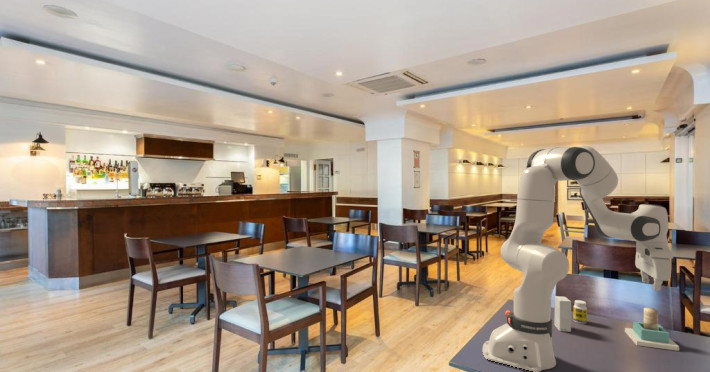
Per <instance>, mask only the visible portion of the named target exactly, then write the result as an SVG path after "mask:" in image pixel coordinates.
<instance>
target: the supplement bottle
mask: <svg viewBox="0 0 710 372" xmlns="http://www.w3.org/2000/svg"><path fill="white" fill-rule="evenodd" d="M572 309H573V314H572V315H573V317H572V318H573V319H572V320H573V322H575V323H577V324H583V325H584V324H587V322H588V308H587V302H586V301H584V300H579V299H576V300H574V305H573V308H572Z"/></svg>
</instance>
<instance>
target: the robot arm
mask: <svg viewBox="0 0 710 372" xmlns="http://www.w3.org/2000/svg"><path fill="white" fill-rule="evenodd" d="M618 177H619V176H618V175H617V173H616V171H615V170H614V169H613V167H612V166H611V164H610V163H609V162H608V160H607V159H606V158H605V157H604V156H603V155H602V154H601V153H599V151H597V150H596V149H595V148H593V146H589V145H581V146H572V147H563V146H562V147H559V146H558V147H557V146H555V147H550V148H541V149H539V150H538V149H537V150H536V151H534V152H532V153H531V155H530V156H529V157H528V160H527V162H526V168H525V169H523V171H522V172H521V175H520V179H519V183H518V188H517V196H516V198H517V200H516V210H515V220H514V225H513V229H512V231H511V233H510V235H509V237H508V238H507V239H506V240H505V241H504V242H503V244H502V245H501V247H500V257H501V259H502V260H503V262H504V263H506V265H508V266H509V267H510V268H512V269H513V270H517V271H519V272H521V273H522V280H521V283H520V285H519V286H517V287H516V288H515V289H514V291H513V311H512V312H511V311H510V310H506V311H505V312H504V313H505V315H504V316H505V317H506V323H504V324H503V325H500V326H499V327H497V328H494V329H493V331H492V332H491V333H490V336H489V340H486V341H484V343H483V344H482V350H481V351H482V352H483V353H482V352H481V353H482V355H484V356H483V357H484V358H485V359H486V360H487V359H488V360H491V361H495V362H499V363H503V364H507V365H510V366H509V367H511V366H513V367H512V368H515V367H517V368H516V369H519V368H522V369H521V370H523V369H525V370H524V371H526V370H529V371H528V372H530V371H533V372H541V371H543V370H549V369H553V368H554V367H556V365H557V360H556V358H555V357H556V356H555V353H554V349H553V340H552V337H553V330H554V329H553V326H554V325H553V324H554V323H553V320H552V316H551V315H552V312H551V311H552V295H553V292H554V289H555V287H556V285H557V284H558V283H559V282H560V281H562V280H563V279H565V278H566V277H567V275H568V273H569V270H570V261H569V258H568V257H567V255H566V254H565V253H564V252H563V251H561V250H559V249H557V248H556V247H554V246H552V245H549V244H544V243H542V241H543V236H544V235H545V232H546V231H547V230H549V229H551V227H552V226H553V224H554V215H555V200H556V193H555V190H556V189H555V186H556V184H557V182H561V181H564V182H565V181H576V182H577V184H578V185H579V195H580V198H581V201H582V202H583V204H584V206H585V207H586V209H587V211H588V213H589V215H590V217H591V218H592V221H593V224H594V227H595V230H596V232H597V233H598V234H599V235H600V236H601V237H603V238H610V239H618V240H619V239H620V240H623V241H624V240H625V241H632V242H635V243H636V244H635V245H636V246H635V251H636V252H635V262H634V263H635V267H636V268H637V269H638V270H640V275H641V282H642V283H644V284H650V278H649V276H650V277H651V278H653V284H652V290H653V291H656V292H660V291H661V288H662V287H661V286H662V285H663V282H665V281H666V282H668V281H669V280H670V279H671V274H672V259H674V253H673V251H672V250H671V248H670V246H669V240H668V236H667V234H668V231H669V216H668V211H667V209H666V207H664V206H662V205H659V204H651V203H649V204H648V203H642V204H639V206H638V209H637V210H636V211H633V212H631V213H629V212H628V213H626V212H618V211H613V210H612V209H609V208H608V207H607V205H606V203H605V201H604V199H603V198H606V197H608V196H609V195H610V194H612V193H613V192H614V191H615V190H616V188H617V187H618V182H619V178H618ZM488 360H487V361H488ZM491 361H490V362H491ZM495 362H494V363H495ZM499 363H498V364H499ZM503 364H502V365H503ZM507 365H506V366H507Z"/></svg>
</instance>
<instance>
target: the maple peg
mask: <svg viewBox="0 0 710 372" xmlns="http://www.w3.org/2000/svg"><path fill="white" fill-rule="evenodd" d="M643 323H644V329H647V330H656V331H658V324H659V310H658V309H656V308H652V307H644V308H643Z"/></svg>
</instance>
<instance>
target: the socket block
mask: <svg viewBox="0 0 710 372" xmlns="http://www.w3.org/2000/svg"><path fill="white" fill-rule="evenodd" d="M624 333H626V335H627V336H628V338H630V339H631V341H632V342H633V343H634V344H635V345H636V346H639V347H645V348H656V349H662V350H669V351H677V352H679V351H680V346H679V345H678V344H677V343H676V342H675V341H673V339H672V338H670V332H669V331H667V329H665V328H664V327H663V326H662V325H661V324H659V323H658V331H656V330H647V329H644V322H642V321H632V328H631V327H624Z"/></svg>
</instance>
